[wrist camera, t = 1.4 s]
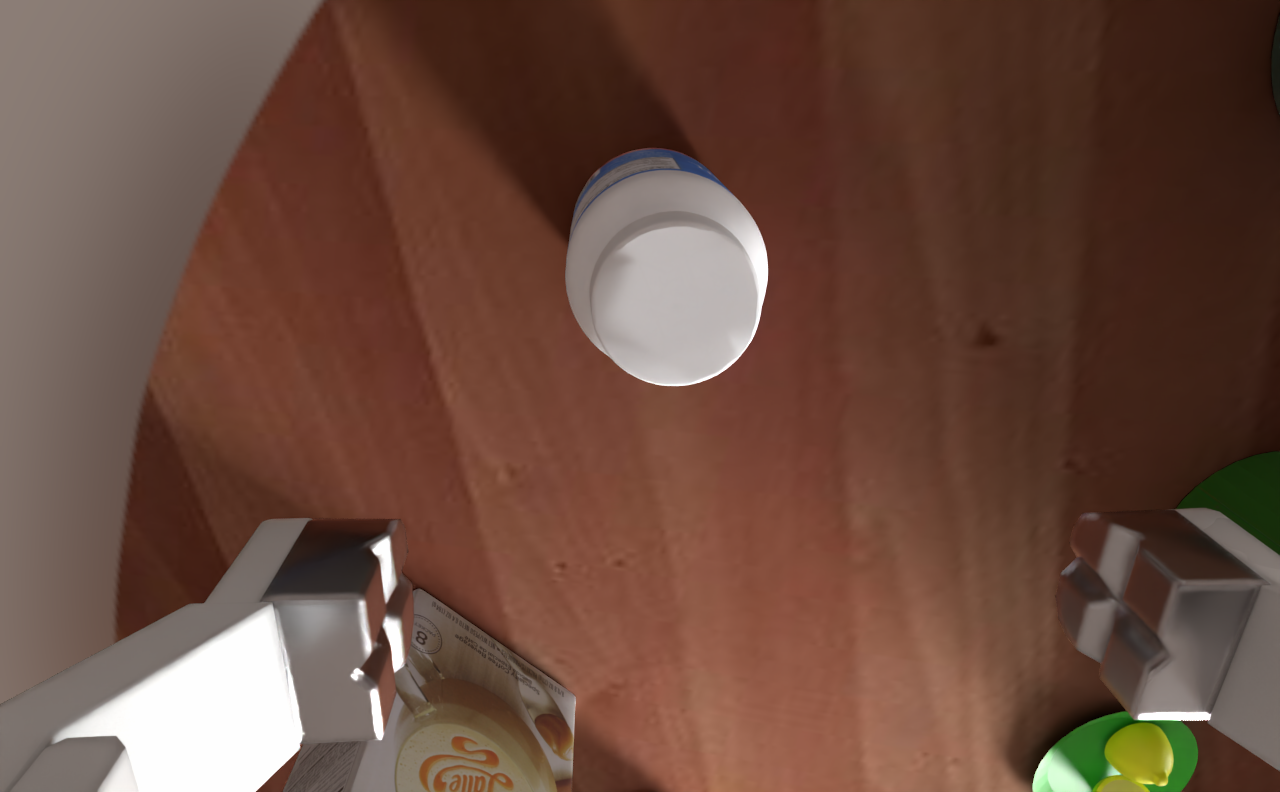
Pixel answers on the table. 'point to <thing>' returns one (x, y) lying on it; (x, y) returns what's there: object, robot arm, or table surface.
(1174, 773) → the green lemon dish
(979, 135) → the table surface
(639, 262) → the pill bottle
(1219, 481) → the candle
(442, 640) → the coffee box
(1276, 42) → the stand
